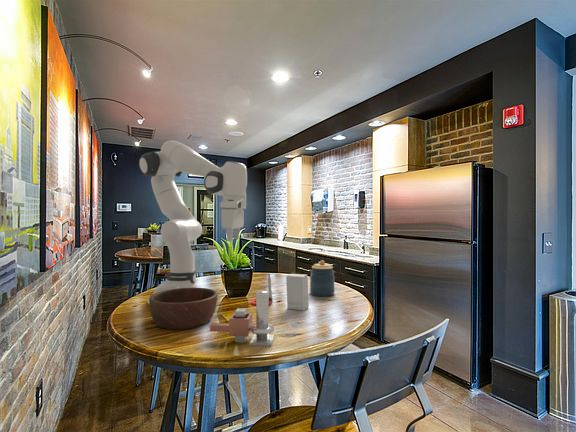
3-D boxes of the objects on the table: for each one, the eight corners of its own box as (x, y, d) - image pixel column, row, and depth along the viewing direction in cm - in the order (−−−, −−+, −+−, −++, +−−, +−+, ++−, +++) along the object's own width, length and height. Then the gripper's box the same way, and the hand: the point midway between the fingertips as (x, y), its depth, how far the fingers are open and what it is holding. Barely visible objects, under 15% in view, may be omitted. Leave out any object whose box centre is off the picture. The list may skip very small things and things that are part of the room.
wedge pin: (235, 342, 100) (235, 311, 100) (237, 338, 103) (237, 308, 103) (244, 342, 100) (245, 311, 100) (246, 338, 103) (246, 308, 103)
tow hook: (249, 306, 141) (271, 306, 140) (248, 276, 141) (269, 275, 141) (252, 301, 150) (273, 300, 149) (251, 272, 150) (271, 271, 150)
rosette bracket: (207, 344, 98) (207, 293, 98) (214, 335, 106) (214, 288, 106) (272, 346, 97) (272, 295, 97) (275, 336, 104) (275, 289, 104)
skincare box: (308, 307, 138) (309, 274, 138) (303, 311, 132) (303, 276, 132) (291, 305, 142) (292, 272, 142) (285, 308, 136) (285, 274, 136)
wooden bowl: (166, 310, 133) (166, 286, 133) (224, 311, 132) (224, 287, 132) (135, 332, 108) (135, 303, 108) (206, 333, 107) (206, 304, 107)
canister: (321, 289, 172) (321, 257, 172) (339, 294, 163) (339, 260, 163) (304, 293, 164) (304, 260, 164) (323, 298, 154) (323, 262, 154)
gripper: (233, 204, 129) (231, 237, 129) (218, 202, 109) (217, 242, 109) (248, 205, 129) (246, 238, 129) (236, 203, 108) (234, 243, 108)
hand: (233, 240), depth 119 cm, fingers open, 8 cm apart
